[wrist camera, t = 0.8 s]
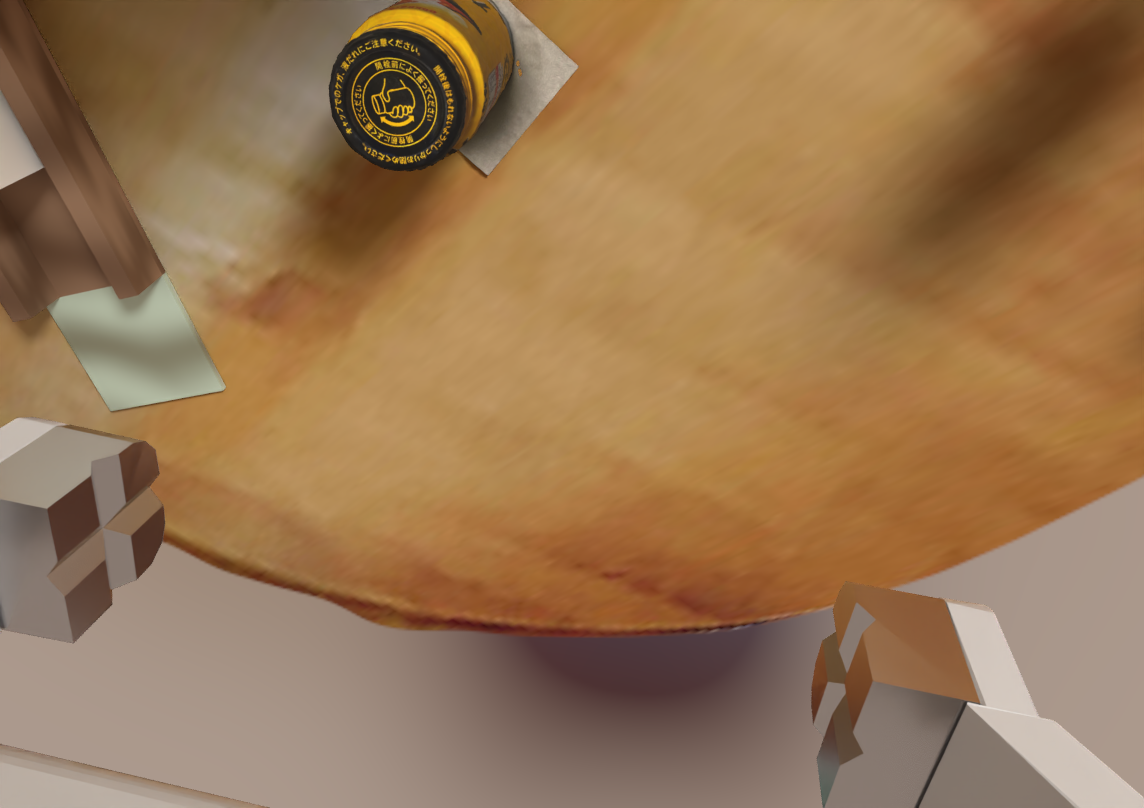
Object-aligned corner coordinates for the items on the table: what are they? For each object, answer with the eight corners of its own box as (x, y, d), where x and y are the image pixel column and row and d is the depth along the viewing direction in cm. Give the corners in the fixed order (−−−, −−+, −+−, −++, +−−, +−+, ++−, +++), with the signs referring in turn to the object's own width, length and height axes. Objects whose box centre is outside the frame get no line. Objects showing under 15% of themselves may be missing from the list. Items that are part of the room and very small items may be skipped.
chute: (-165, -47, 42) (-221, -41, 39) (-26, -93, 40) (-75, -89, 38) (113, 407, 56) (86, 435, 53) (226, 387, 54) (203, 414, 51)
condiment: (442, -63, 40) (370, -38, 30) (579, 66, 42) (556, 129, 32) (357, 61, 43) (266, 122, 33) (489, 173, 45) (442, 262, 35)
